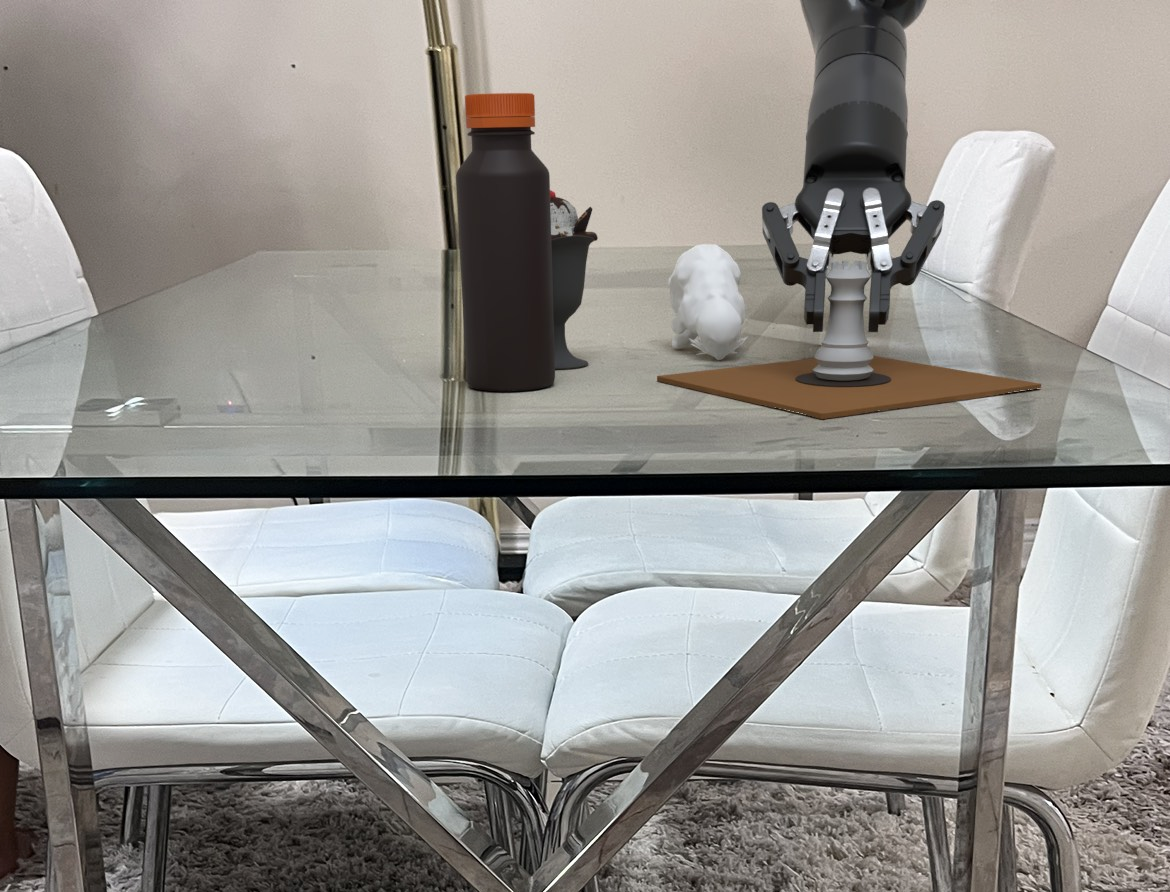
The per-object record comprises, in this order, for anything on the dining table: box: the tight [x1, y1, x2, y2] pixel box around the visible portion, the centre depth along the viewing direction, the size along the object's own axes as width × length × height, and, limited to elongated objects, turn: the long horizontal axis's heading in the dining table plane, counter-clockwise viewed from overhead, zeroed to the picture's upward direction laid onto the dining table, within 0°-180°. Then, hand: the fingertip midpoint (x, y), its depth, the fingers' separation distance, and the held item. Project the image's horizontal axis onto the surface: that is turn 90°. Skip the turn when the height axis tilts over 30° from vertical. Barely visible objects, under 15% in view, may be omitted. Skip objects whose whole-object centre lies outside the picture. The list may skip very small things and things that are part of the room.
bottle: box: [455, 92, 556, 393], centre depth 103 cm, size 7×7×20 cm
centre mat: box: [656, 355, 1042, 420], centre depth 104 cm, size 20×20×1 cm
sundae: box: [550, 189, 599, 371], centre depth 113 cm, size 7×7×15 cm
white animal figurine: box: [667, 243, 748, 361], centre depth 119 cm, size 6×8×12 cm
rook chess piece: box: [813, 260, 875, 381], centre depth 102 cm, size 4×4×8 cm
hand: (846, 324), depth 101 cm, fingers closed on rook chess piece, 3 cm apart
